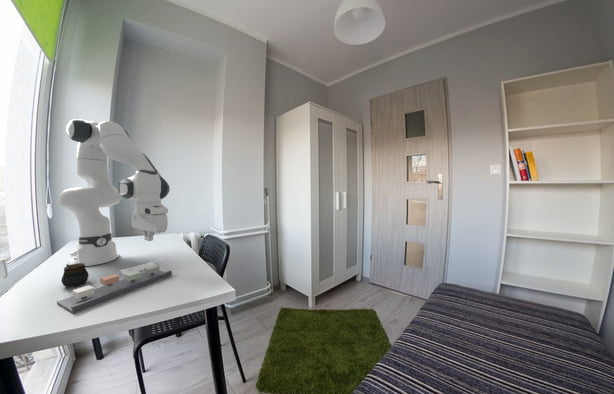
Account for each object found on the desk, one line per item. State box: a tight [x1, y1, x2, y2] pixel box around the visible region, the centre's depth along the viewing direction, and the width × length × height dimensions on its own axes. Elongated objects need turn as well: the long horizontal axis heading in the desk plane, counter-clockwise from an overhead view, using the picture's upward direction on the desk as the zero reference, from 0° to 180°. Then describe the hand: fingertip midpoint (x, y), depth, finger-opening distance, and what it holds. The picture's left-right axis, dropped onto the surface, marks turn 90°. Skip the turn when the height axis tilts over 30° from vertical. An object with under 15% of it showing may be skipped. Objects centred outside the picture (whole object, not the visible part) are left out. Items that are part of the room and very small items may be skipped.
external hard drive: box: [119, 261, 157, 277], centre depth 98 cm, size 2×8×12 cm
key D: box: [123, 271, 141, 282], centre depth 83 cm, size 4×4×3 cm
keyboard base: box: [56, 269, 173, 315], centre depth 80 cm, size 13×30×2 cm, turn 155°
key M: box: [143, 264, 160, 275], centre depth 90 cm, size 4×4×3 cm
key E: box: [99, 273, 120, 286], centre depth 77 cm, size 4×4×3 cm
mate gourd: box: [61, 263, 90, 288], centre depth 83 cm, size 7×8×10 cm
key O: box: [72, 284, 95, 299], centre depth 71 cm, size 4×4×3 cm
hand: (148, 240), depth 89 cm, fingers closed
